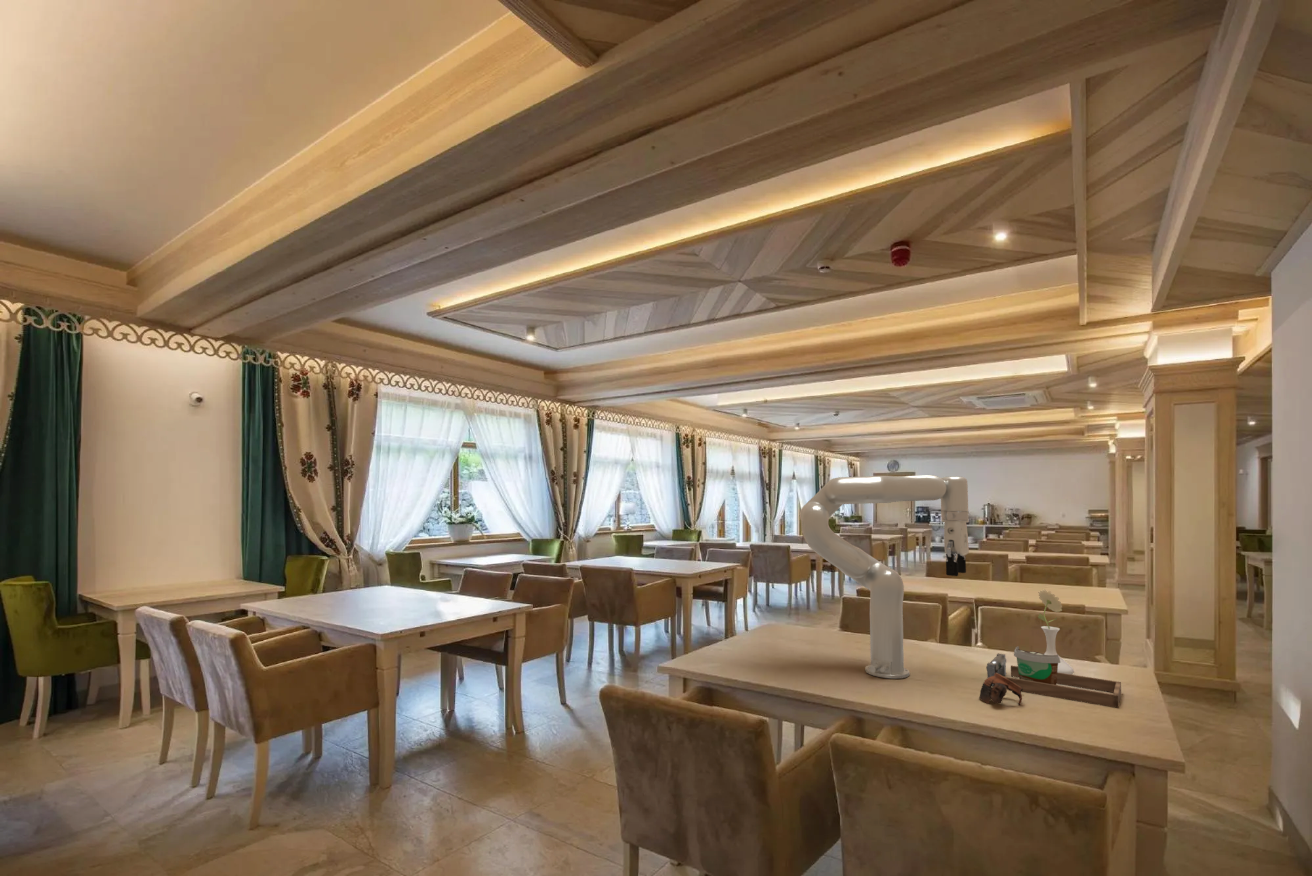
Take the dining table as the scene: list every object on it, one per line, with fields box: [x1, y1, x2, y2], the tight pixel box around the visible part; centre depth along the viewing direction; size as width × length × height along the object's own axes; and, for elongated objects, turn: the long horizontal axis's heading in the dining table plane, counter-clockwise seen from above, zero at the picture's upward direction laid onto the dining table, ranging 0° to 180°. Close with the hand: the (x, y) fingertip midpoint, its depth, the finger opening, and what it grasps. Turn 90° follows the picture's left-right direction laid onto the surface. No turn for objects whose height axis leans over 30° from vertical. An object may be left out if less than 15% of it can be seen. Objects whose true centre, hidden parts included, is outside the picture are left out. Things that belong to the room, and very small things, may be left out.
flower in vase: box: [1037, 589, 1075, 675], centre depth 201 cm, size 13×11×25 cm
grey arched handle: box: [985, 653, 1007, 687], centre depth 193 cm, size 18×3×6 cm, turn 142°
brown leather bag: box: [978, 673, 1023, 706], centre depth 171 cm, size 12×10×8 cm
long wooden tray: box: [1003, 665, 1122, 709], centre depth 182 cm, size 16×27×3 cm, turn 52°
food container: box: [1013, 645, 1061, 685], centre depth 185 cm, size 12×6×10 cm, turn 31°
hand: (956, 574), depth 197 cm, fingers open, 9 cm apart
